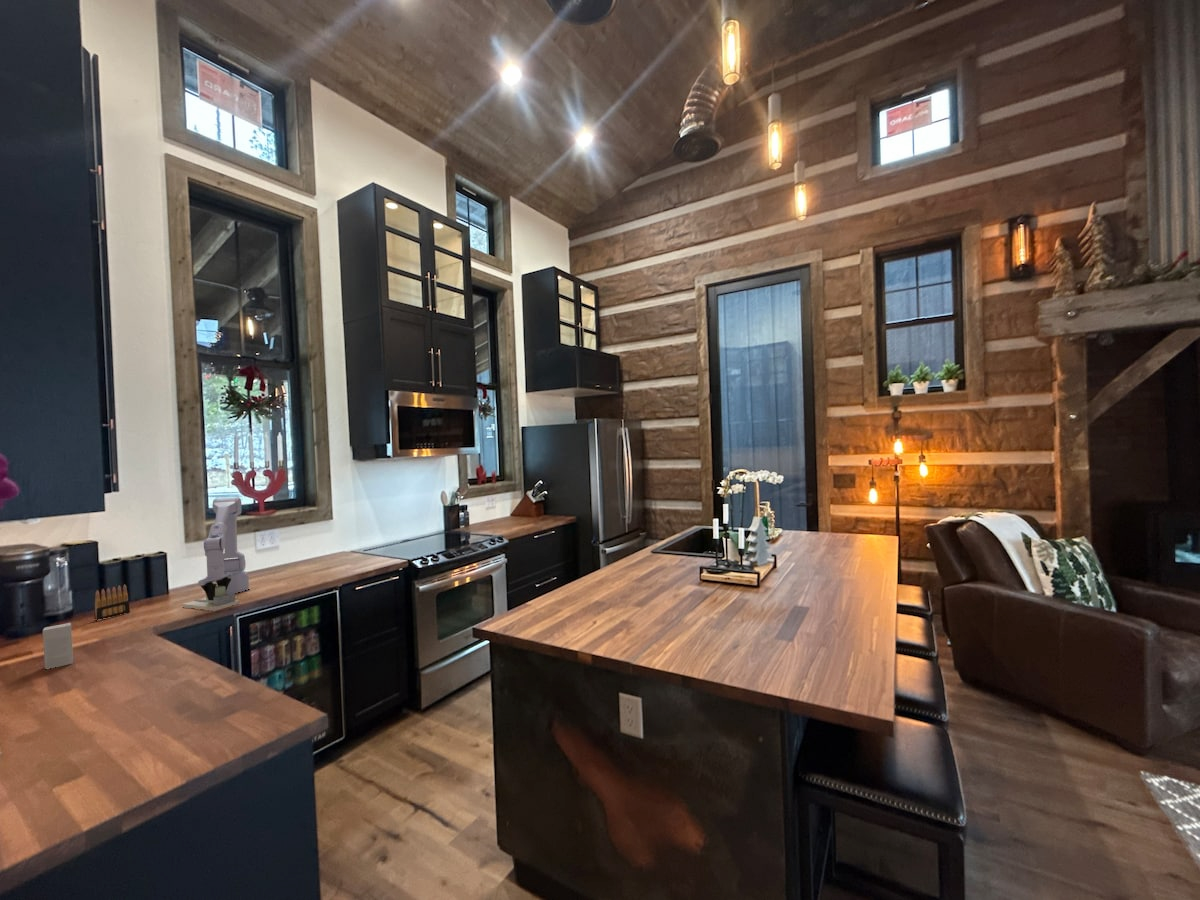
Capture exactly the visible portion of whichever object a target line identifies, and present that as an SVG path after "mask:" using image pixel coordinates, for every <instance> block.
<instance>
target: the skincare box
mask: <svg viewBox="0 0 1200 900" xmlns="http://www.w3.org/2000/svg"><path fill="white" fill-rule="evenodd" d="M42 639H43V640H42V642H43V643H42V644H43V658H44V670H45V669H47V670H51V669H55V667H56V668H59V667H63V666H64V667H65V666H67V665H73V664H74V649H73V635H72V623H71V622H67V623H63V624H58V625H52V626H51V625H50V626H46V627H44V628H43V629H42ZM50 668H51V669H50Z"/></svg>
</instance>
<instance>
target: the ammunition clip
mask: <svg viewBox="0 0 1200 900" xmlns="http://www.w3.org/2000/svg"><path fill="white" fill-rule="evenodd" d="M127 588H128V587H127V585H126V584H125V583H124V584H123V587H121V585H118V587H117V589H116V587H115V586H113V587H112V588H110V587H107V589H106V591H105V589H104V588H102V589H101V591H100V592H101V593H100V592H99V590H98V589H96V591H95V595H94V596H95V600H94V615H93V616H94V617H93V618H94V619H97V620H98V619H103V618H108V617H112V616H116V615H120V614H124V613H127V614H129V613H128V612H130V613H131V611H130V601H129V594H128V589H127ZM111 589H112V590H111ZM116 590H117V591H116ZM124 615H125V614H124ZM120 616H121V615H120ZM116 617H117V616H116ZM112 618H113V617H112ZM94 619H93V620H94ZM108 619H109V618H108Z"/></svg>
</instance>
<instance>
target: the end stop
mask: <svg viewBox="0 0 1200 900" xmlns="http://www.w3.org/2000/svg"><path fill="white" fill-rule="evenodd" d="M235 600H236V594H235V593H228V594H224V595H220V596H217V597H213V601H214V606H221V605H224V604H228V603H231V602H235Z"/></svg>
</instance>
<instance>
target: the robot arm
mask: <svg viewBox="0 0 1200 900" xmlns="http://www.w3.org/2000/svg"><path fill="white" fill-rule="evenodd" d="M212 511H214V514H215V521H214V523H212V524H211V526H210V529H209V533H208V536H207V538H205V539H204V541H203V549H204V555H205V557H206V574H207V575H206V576H205V577H204V578H202V579H200V580H198V586H200V587H201V588H202V590H203V591H204V592H205V596H206V595H207V597H208V600H213V597H215V588H216V586H225V590H226V594H228V593H236V594H239V593H238V592H240V593H243V592H246V591H245V590H247V591H249V590H248V589H250V583H249V582H250V581H249V575H248V572H247V571H245V569H246V563H247V562H246V559H245V558H246V557H245V555H244V553H242V552H240V551H238V532H237V531H238V530H237V529H238V526H237V522H238V516H240V515H241V514H242V500H241V497H239V496H236V497H235V496H234V497H226V498H225V497H223V498H218V497H217V498H216V497H215V498H214V499H213V500H212ZM213 582H216V583H213ZM242 591H243V592H242Z"/></svg>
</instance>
